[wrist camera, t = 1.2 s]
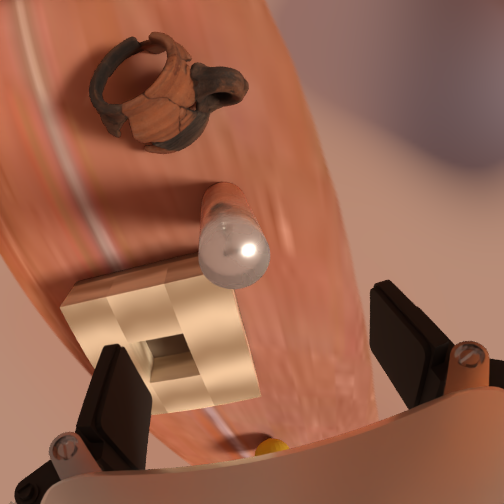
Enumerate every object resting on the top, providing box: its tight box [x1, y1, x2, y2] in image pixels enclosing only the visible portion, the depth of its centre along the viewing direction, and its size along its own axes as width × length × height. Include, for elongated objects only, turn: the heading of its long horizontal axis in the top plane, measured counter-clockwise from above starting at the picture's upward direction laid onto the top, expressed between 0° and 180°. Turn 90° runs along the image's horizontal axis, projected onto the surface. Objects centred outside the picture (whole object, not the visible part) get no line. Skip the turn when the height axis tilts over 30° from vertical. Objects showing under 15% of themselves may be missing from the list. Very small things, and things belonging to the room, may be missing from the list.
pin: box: [198, 182, 270, 289], centre depth 23 cm, size 4×4×12 cm
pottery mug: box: [89, 32, 249, 154], centre depth 22 cm, size 12×10×8 cm
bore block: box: [60, 252, 261, 415], centre depth 31 cm, size 16×16×5 cm
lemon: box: [255, 438, 289, 456], centre depth 40 cm, size 6×6×8 cm
